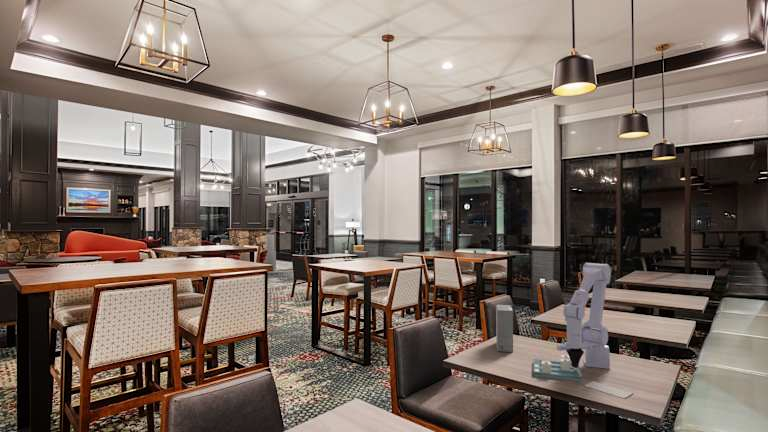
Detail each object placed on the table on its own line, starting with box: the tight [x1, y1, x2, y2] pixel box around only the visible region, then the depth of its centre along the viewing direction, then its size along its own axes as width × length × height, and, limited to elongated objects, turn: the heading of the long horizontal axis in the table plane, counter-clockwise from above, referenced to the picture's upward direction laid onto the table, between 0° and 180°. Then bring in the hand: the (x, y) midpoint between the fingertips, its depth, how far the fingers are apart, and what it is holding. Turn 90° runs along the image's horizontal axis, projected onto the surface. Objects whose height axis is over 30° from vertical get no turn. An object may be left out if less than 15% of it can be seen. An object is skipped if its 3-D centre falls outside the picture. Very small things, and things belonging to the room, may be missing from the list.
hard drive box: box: [495, 304, 514, 353], centre depth 207 cm, size 16×8×20 cm, turn 167°
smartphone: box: [583, 381, 634, 400], centre depth 154 cm, size 7×1×15 cm
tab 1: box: [542, 359, 551, 374], centre depth 169 cm, size 4×4×5 cm
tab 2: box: [560, 353, 571, 367], centre depth 177 cm, size 4×4×5 cm
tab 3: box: [559, 357, 570, 371], centre depth 172 cm, size 4×4×5 cm
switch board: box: [532, 358, 584, 383], centre depth 173 cm, size 18×17×2 cm
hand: (574, 366), depth 171 cm, fingers closed
